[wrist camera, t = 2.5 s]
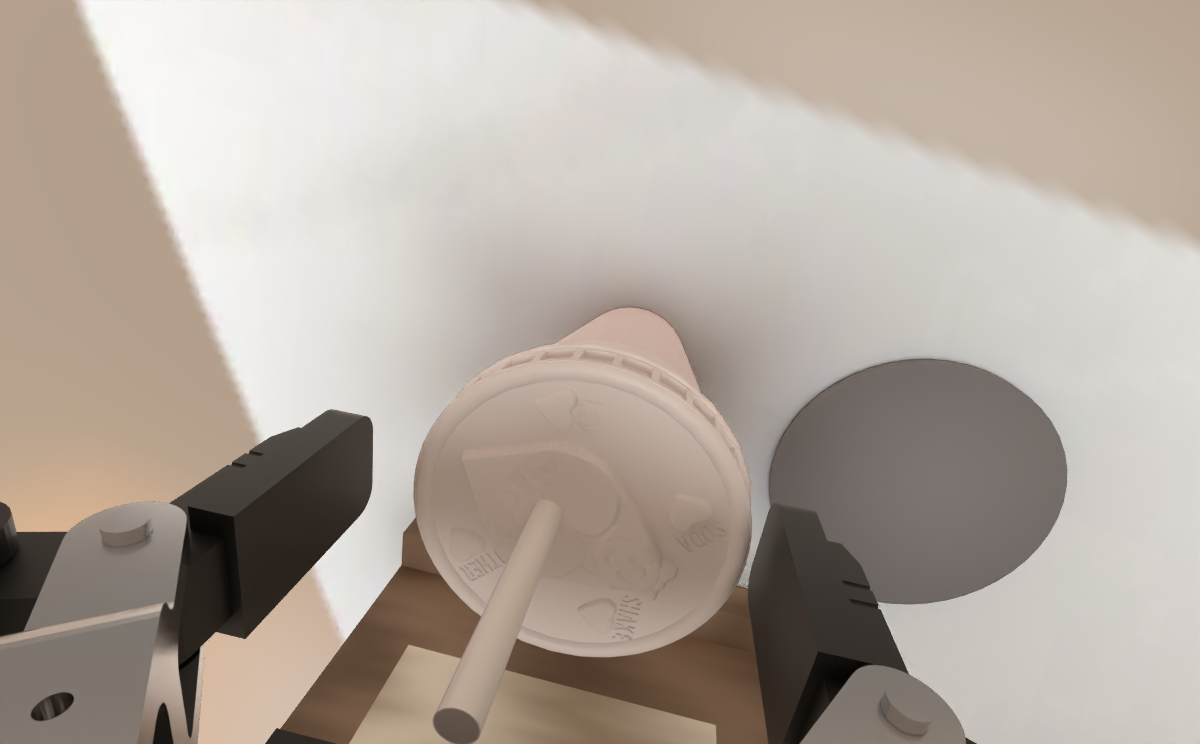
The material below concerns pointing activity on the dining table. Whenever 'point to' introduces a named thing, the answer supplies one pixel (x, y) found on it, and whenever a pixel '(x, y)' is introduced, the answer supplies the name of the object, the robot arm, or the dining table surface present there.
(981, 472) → the coaster
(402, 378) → the dining table surface
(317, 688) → the placard
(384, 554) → the dining table surface
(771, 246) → the dining table surface
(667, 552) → the smoothie
